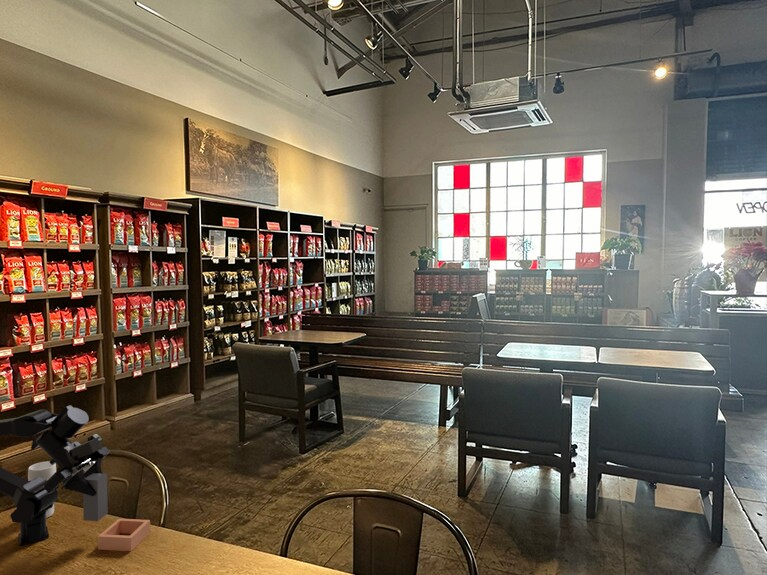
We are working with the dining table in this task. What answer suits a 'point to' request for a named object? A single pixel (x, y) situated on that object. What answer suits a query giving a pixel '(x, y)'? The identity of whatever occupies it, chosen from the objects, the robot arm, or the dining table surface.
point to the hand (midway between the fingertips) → (100, 491)
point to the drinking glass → (42, 471)
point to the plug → (96, 498)
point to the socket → (121, 542)
